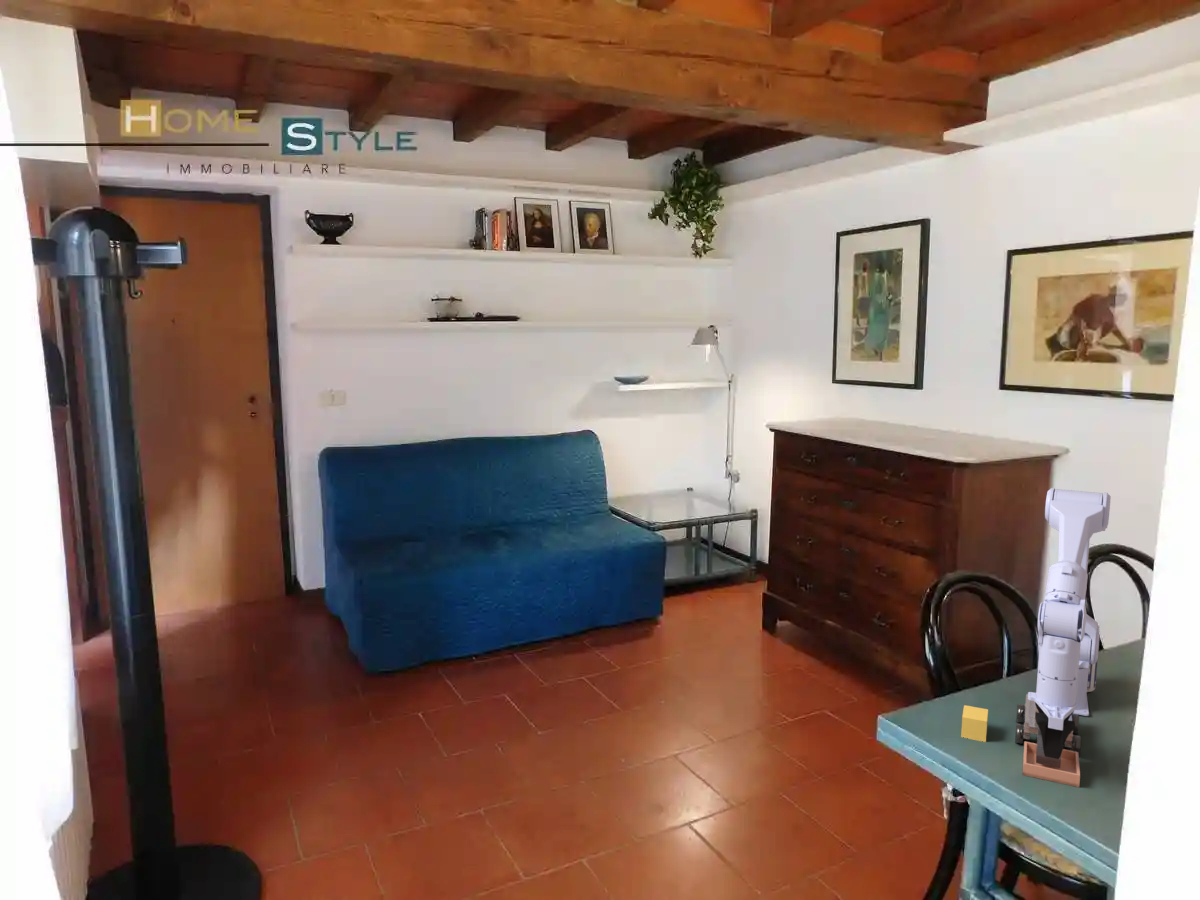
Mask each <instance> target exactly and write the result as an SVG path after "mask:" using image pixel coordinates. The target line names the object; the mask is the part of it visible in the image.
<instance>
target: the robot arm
mask: <svg viewBox="0 0 1200 900" xmlns="http://www.w3.org/2000/svg"><path fill="white" fill-rule="evenodd" d="M1110 510H1111V495H1110V494H1109V493H1108V492H1095V491H1094V492H1093V491H1083V490H1072V489H1071V490H1070V489H1060V488H1055V487H1050V489H1049V490H1047V493H1046V499H1045V507H1044V519H1045V520H1046V521H1047V523H1048V524H1049V527H1050V528H1053V529H1055V530H1057V531H1058V550H1057V551H1058V556H1057V558H1058V560H1057V562H1055V563H1053V564H1051V566H1049V568H1048V573H1047V580H1046V586H1045V590H1044V591H1045V592H1044V598H1043V601H1041V602H1040V604H1039V607H1038V615H1037V631H1038V633H1037V634H1038V642H1037V644H1038V645H1037V649H1038V662H1037V663H1038V664H1037V665H1038V666H1037V675H1036V677H1037V678H1036V690H1035V692H1034V691H1033V692H1032V691H1028V692H1027V694H1028V700H1031V701H1035V705H1036V707H1037V709H1038V712H1039V713H1038V712H1035V720H1036V723H1037V724H1038V726H1039V729H1040V732H1041V736H1042V743H1043V751H1044V755H1045V756H1046V757H1050V758H1055V759H1059V758H1060V756H1061V753H1062V750H1063V749H1064V747H1065V741H1066V739H1067V737H1068V735H1069V734H1070V733H1071V732H1072V731H1073V729H1074V727H1075V722H1074V721H1069V720H1068V719H1069V718H1070V716H1071V715H1072V714H1075V715H1079V716H1085V717H1089V716H1090V712H1089V704H1088V703H1089V702H1088V696H1087V693H1088V692H1087V683H1088V671H1089V665H1090V664H1094V663H1096V662H1097V658H1098V657H1099V649H1100V648H1099V646H1100V625H1099V623H1098V621H1096V620H1095V619H1094V618H1092V616H1090V615H1088V614H1087V608H1086V606H1087V605H1086V595H1087V585H1088V577H1089V575H1088V566H1089V565H1088V564H1089V553H1090V540H1091V538H1092V536H1093V535H1094V534H1097V533H1100V532H1105V531H1106V529H1108V526H1109V523H1110V521H1109V520H1110ZM1097 663H1098V662H1097Z"/></svg>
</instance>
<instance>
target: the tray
mask: <svg viewBox="0 0 1200 900" xmlns="http://www.w3.org/2000/svg"><path fill="white" fill-rule="evenodd" d="M1036 748H1037V743H1034V742H1030V741H1024V740H1023V756H1022V757H1023V761H1022V775H1023V776H1027V777H1030V778H1035V779H1040V780H1044V781H1049V782H1053V783H1058V784H1061V785H1062V784H1063V785H1066V784H1067V786H1072V787H1075V788H1080V781H1081V780H1080V779H1081V771H1080V770H1081V769H1080V758H1079V755H1078V752H1075V751H1071V749H1070V750H1069V749H1065V748H1063V750H1062V753H1061V765H1060V768H1057V767H1053V766H1048V765H1043V764H1039V763H1036Z"/></svg>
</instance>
